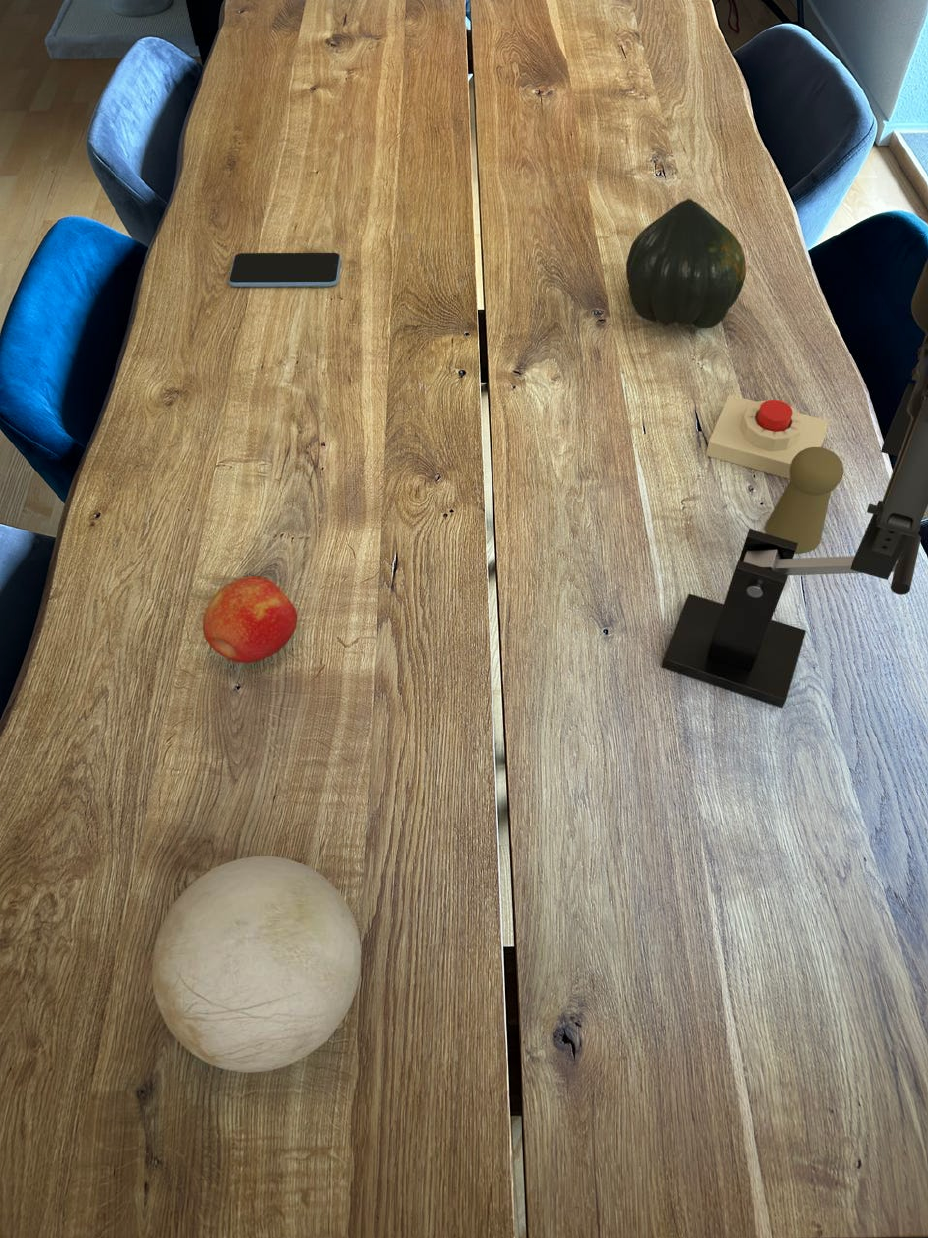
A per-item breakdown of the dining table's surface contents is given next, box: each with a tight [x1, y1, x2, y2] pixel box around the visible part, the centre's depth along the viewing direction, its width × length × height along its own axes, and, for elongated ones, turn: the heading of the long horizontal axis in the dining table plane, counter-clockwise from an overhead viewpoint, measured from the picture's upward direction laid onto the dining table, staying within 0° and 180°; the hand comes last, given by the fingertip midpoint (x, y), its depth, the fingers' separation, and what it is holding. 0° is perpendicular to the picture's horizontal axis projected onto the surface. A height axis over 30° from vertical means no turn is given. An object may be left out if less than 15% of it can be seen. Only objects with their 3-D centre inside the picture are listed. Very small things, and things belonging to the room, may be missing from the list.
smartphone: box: [227, 252, 342, 288], centre depth 140 cm, size 7×1×15 cm
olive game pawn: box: [764, 446, 844, 554], centre depth 106 cm, size 6×6×11 cm
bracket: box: [660, 528, 807, 709], centre depth 95 cm, size 12×9×15 cm
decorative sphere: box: [151, 855, 363, 1073], centre depth 74 cm, size 15×15×15 cm
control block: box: [705, 394, 830, 480], centre depth 117 cm, size 12×9×4 cm
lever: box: [744, 533, 922, 596], centre depth 87 cm, size 14×6×2 cm, turn 67°
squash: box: [625, 198, 747, 329], centre depth 130 cm, size 14×15×15 cm
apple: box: [202, 575, 298, 664], centre depth 98 cm, size 8×8×8 cm
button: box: [757, 399, 792, 432], centre depth 115 cm, size 4×4×2 cm
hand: (884, 509), depth 79 cm, fingers open, 13 cm apart
